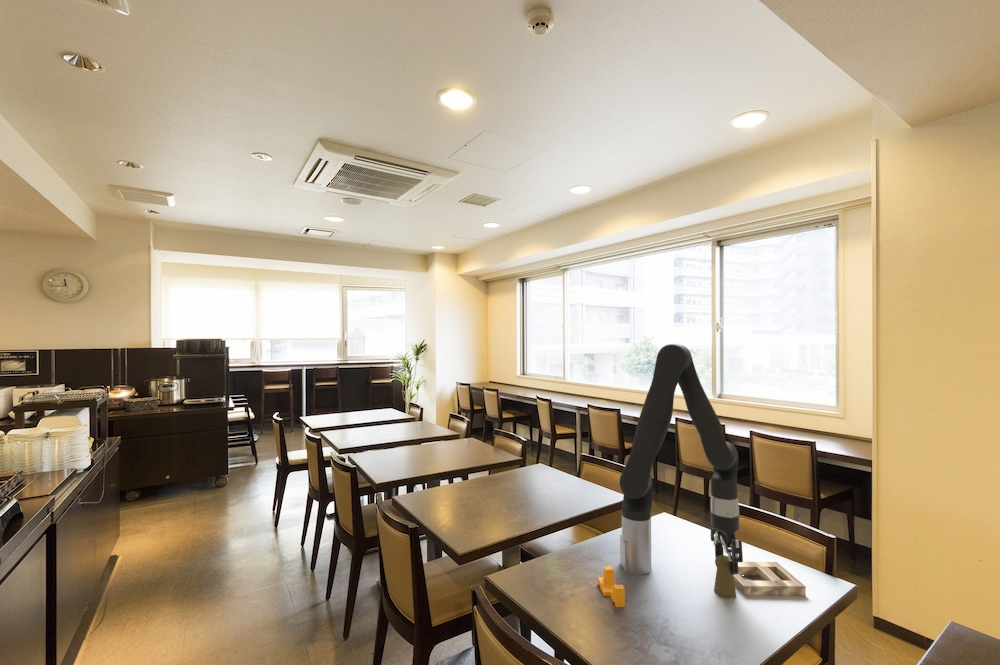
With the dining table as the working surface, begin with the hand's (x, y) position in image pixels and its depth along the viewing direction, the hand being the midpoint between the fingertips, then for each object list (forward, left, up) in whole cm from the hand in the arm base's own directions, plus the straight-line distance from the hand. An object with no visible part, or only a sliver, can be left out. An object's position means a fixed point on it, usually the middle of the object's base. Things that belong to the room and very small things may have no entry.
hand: (726, 566), depth 133 cm
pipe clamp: (-35, -2, -9) cm, 36 cm away
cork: (0, 0, -9) cm, 9 cm away
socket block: (+14, +6, -8) cm, 17 cm away
